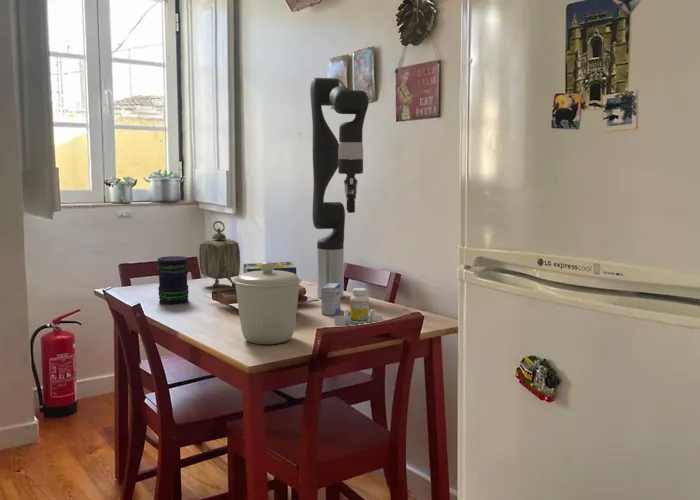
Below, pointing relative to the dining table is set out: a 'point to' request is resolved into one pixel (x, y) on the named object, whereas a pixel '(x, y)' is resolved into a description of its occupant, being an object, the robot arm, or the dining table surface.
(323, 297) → the medicine box
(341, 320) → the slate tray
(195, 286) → the dining table surface
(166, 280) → the storage jar
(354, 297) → the supplement bottle
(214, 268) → the tabletop clock
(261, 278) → the canister
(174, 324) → the dining table surface
